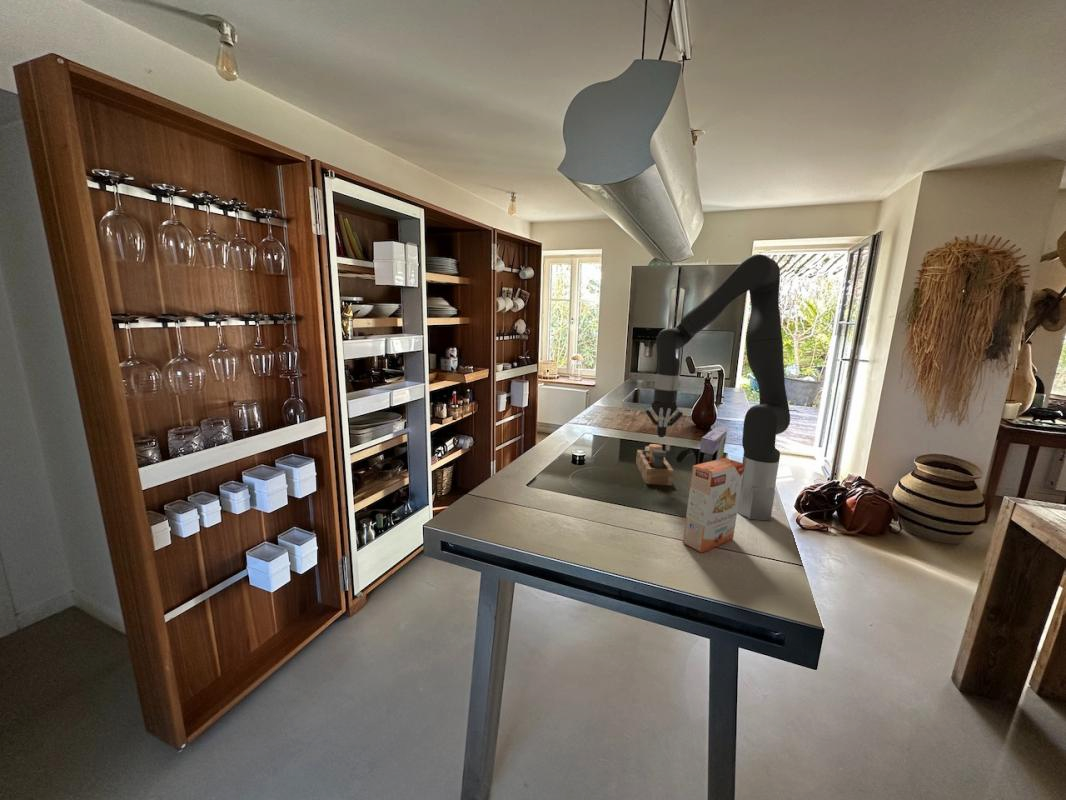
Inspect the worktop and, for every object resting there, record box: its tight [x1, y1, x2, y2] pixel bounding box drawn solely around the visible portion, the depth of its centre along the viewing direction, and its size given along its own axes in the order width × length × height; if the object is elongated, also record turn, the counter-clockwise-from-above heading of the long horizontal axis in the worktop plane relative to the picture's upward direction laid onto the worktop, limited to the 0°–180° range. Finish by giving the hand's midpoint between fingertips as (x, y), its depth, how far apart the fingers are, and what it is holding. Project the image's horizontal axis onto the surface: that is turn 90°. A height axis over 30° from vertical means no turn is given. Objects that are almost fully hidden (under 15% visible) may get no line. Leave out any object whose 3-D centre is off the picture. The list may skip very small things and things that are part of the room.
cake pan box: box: [697, 427, 728, 464], centre depth 149 cm, size 19×5×18 cm, turn 143°
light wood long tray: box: [635, 449, 675, 487], centre depth 155 cm, size 22×9×6 cm, turn 175°
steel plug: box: [644, 445, 650, 456], centre depth 161 cm, size 5×5×7 cm
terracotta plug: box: [648, 443, 663, 462], centre depth 154 cm, size 5×5×7 cm
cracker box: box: [682, 457, 745, 554], centre depth 105 cm, size 14×6×21 cm, turn 124°
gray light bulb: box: [652, 449, 667, 469], centre depth 147 cm, size 5×5×7 cm
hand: (660, 436), depth 145 cm, fingers closed
